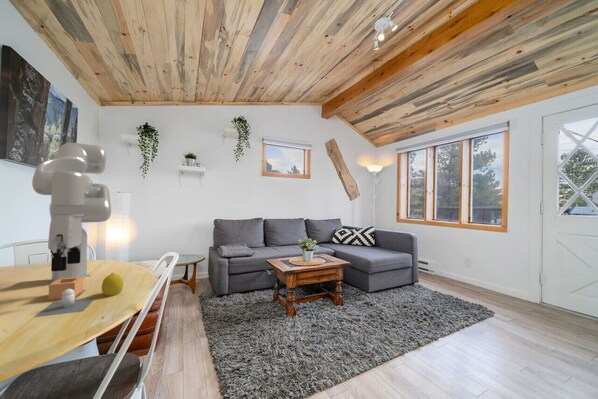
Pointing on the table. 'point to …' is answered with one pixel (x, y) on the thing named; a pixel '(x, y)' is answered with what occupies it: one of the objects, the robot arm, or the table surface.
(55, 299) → the stand
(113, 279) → the lemon
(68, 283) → the collar
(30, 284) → the table surface
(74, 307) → the plate
